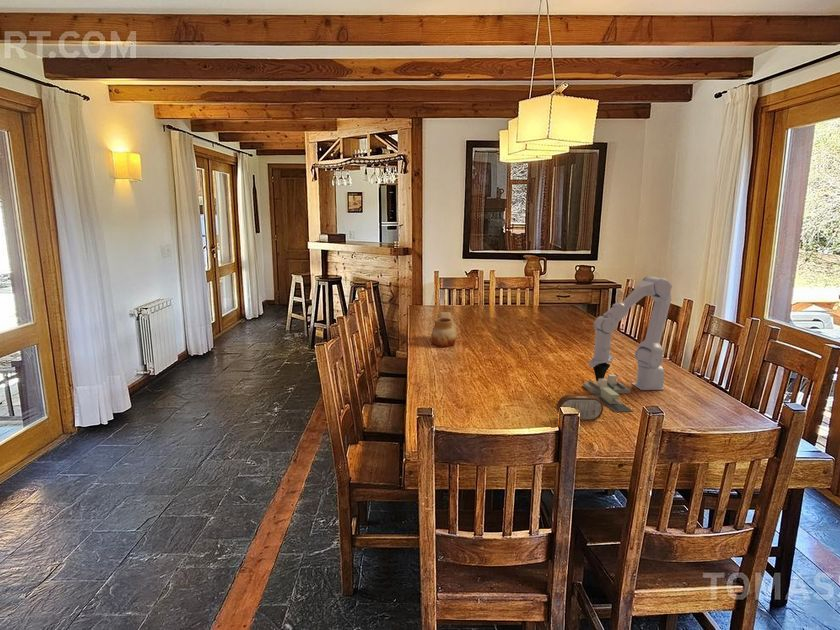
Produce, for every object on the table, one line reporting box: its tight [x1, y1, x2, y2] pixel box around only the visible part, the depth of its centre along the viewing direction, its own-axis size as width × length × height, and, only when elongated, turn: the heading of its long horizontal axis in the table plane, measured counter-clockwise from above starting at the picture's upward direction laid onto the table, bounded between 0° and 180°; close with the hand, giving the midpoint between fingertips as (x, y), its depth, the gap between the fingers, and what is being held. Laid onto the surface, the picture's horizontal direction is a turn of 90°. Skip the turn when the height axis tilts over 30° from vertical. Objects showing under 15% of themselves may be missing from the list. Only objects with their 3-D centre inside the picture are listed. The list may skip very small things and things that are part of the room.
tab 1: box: [597, 377, 608, 389], centre depth 199 cm, size 3×2×4 cm
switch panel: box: [582, 380, 631, 395], centre depth 202 cm, size 15×9×2 cm, turn 95°
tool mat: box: [592, 394, 634, 413], centre depth 188 cm, size 7×18×1 cm, turn 5°
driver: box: [601, 388, 623, 406], centre depth 187 cm, size 3×13×4 cm, turn 5°
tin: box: [556, 394, 604, 422], centre depth 171 cm, size 15×3×8 cm, turn 92°
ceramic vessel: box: [430, 311, 459, 348], centre depth 274 cm, size 14×26×15 cm, turn 175°
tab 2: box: [606, 374, 618, 385], centre depth 204 cm, size 3×2×4 cm
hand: (599, 381), depth 201 cm, fingers closed
